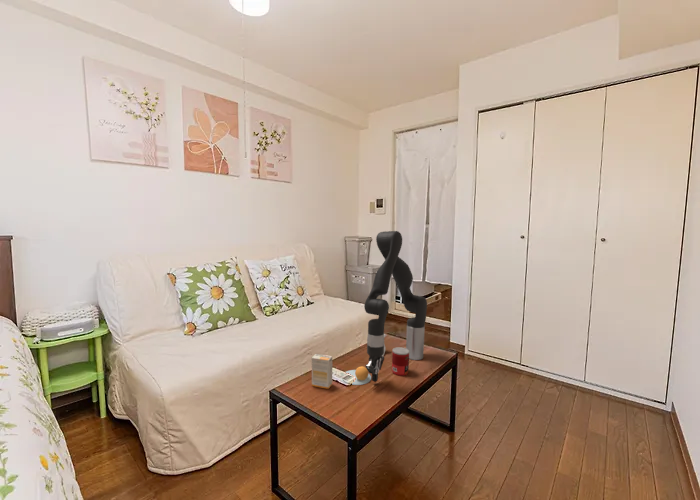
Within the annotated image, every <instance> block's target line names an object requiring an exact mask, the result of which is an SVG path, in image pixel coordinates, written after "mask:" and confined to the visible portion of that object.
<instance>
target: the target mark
mask: <svg viewBox="0 0 700 500" xmlns="http://www.w3.org/2000/svg"><path fill="white" fill-rule="evenodd" d="M355 371H356V369H349V370H346V371H345V372H346V373H349V374H351V375H353V376H355V378H356V380H355V382H353V383H352V385H354V386H362V385H366V384H368V383H369V382H371V381H372V374H371V373H369V372H368V377H367V378H366V379H365V380H359V379H357V377H356V375H355Z"/></svg>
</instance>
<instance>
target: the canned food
mask: <svg viewBox="0 0 700 500" xmlns="http://www.w3.org/2000/svg"><path fill="white" fill-rule="evenodd" d="M391 353H392V354H391V372H392V374H394V375H396V376H399V377H402V376H403V377H404V376H405V377H406V376H407V375H408V374H409V366H410V365H409V364H410V362H409V361H410V359H409V350H408V349H406V347H401V346H400V347H397V346H396V347H394V348H392V352H391Z"/></svg>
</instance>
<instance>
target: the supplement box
mask: <svg viewBox="0 0 700 500" xmlns="http://www.w3.org/2000/svg"><path fill="white" fill-rule="evenodd" d="M332 386H333V356H332V355H326V354H319V353H315V354H314V355H313V356H312V357H311V387H316V388H322V389H326V390H329V389H330V387H332Z"/></svg>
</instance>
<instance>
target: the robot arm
mask: <svg viewBox="0 0 700 500" xmlns="http://www.w3.org/2000/svg"><path fill="white" fill-rule="evenodd" d="M375 241H376V245H377V248H378V250H379V251H380V254H381V255H382V257H383V258H384V261H383V262H382V264H381V265H380V266H379V267H378V269H377V270H376V273H375V275H374V279H373V285H372V288H371V290H370V292H369V294H368V296H367V298H366V300H365V301H364V311H365V313H367V314H369V315H374V316H378V318H372V319H370V320H369V321H368V322H367V327H368V328H367V339H366V353H367V355H368V356H369V358H368V363H366V364H365V366H364V367H365V368H367V370H368V373H369V374H371V381H372V382H375V383H376V382H377V381H378V380H379V373H380V371H381V369H382V367H383V363H384V360H385V356H382V355H383V354H384V355H385V353H384V344H385V338H384V334H385V323H386V318H387V315H388V313H389V309H390V308H389V307H390V305H389V302H388V301H387V300H386V299H382V298H381V299H380V298H378V297H380V296H385V295H387V294H388V292H389V288H390V283H391V282H390V281H391V279H392V278H393V280H394V282H395V284H396V286H397V289H398V291H399V293H400V296H401V300H402V304H403V306H404V308H405V310H406V311H408V312H409V313H413V314H415V316H414V317H410V318H408V319H407V320H406V338H405V339H406V344H405V348H406V349H408V350H409V360H413V361H414V360H415V361H418V360H419V361H420V360H422V359H424V350H425V349H424V348H425V346H424V345H425V326H426V325H425V324H426V319H427V311H428V310H427V309H428V301H427V298H426V297H425V296H421V295H416V294H414V293H413V292H412V290H411V286H412V284H413V281H414V280H413V279H414V276H413V273H412V271H411V268H410V266H409V265H408V264H407V263H406V262H405V261H404V260H403V259H402V258H401V257H400V256H399V255H400V252H401V249H402V246H403V235H402V233H401V232H400V231H398V230H392V231H391V230H389V231H388V230H387V231H386V230H385V231H380V232H378V233H377V235H376V237H375Z"/></svg>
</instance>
